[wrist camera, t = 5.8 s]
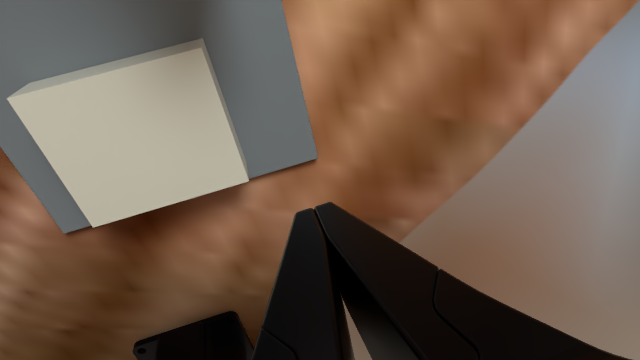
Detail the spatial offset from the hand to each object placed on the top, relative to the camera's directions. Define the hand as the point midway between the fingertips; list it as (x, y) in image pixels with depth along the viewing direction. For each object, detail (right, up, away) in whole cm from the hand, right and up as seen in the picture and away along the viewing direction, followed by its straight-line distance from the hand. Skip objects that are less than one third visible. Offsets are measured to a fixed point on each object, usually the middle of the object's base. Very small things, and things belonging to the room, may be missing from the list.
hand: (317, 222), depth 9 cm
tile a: (-4, +4, +8) cm, 10 cm away
